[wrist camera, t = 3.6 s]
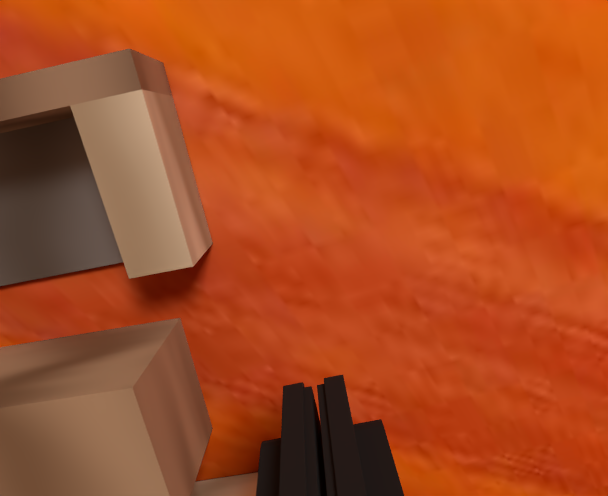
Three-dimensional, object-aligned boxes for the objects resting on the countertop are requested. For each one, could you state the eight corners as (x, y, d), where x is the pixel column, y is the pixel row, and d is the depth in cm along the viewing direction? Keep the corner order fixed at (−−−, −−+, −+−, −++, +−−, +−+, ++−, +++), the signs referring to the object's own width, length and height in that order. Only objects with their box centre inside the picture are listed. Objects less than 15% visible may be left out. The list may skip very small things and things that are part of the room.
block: (181, 316, 16) (132, 387, 11) (213, 425, 17) (180, 526, 13) (-16, 348, 16) (-134, 428, 12) (30, 452, 18) (-61, 557, 13)
